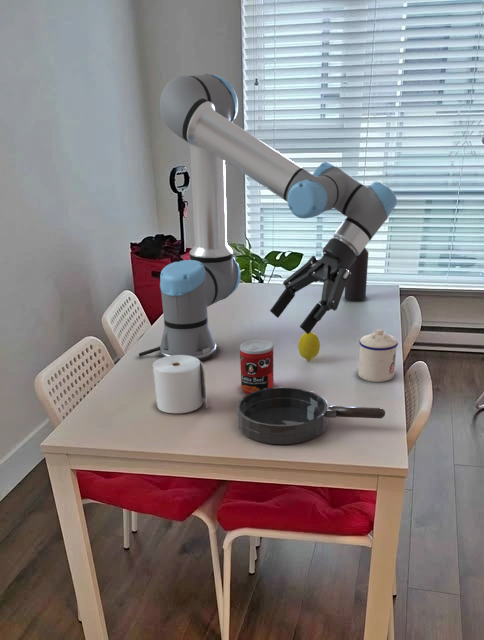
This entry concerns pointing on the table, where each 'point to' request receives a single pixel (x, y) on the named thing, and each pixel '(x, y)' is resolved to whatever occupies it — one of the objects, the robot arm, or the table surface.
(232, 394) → the table surface
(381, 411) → the pan handle
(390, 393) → the table surface
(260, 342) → the canned food
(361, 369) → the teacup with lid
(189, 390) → the toilet tissue
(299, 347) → the lemon
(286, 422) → the frying pan
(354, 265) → the bottle
